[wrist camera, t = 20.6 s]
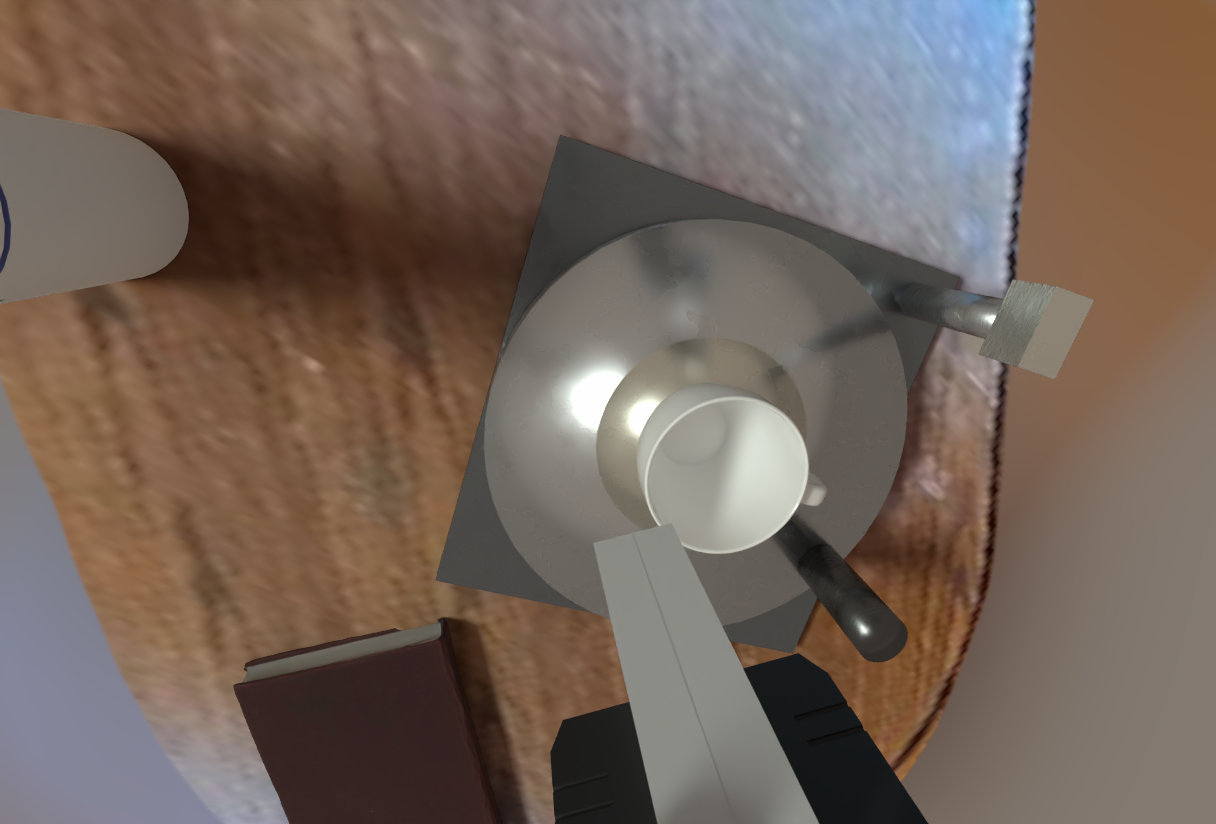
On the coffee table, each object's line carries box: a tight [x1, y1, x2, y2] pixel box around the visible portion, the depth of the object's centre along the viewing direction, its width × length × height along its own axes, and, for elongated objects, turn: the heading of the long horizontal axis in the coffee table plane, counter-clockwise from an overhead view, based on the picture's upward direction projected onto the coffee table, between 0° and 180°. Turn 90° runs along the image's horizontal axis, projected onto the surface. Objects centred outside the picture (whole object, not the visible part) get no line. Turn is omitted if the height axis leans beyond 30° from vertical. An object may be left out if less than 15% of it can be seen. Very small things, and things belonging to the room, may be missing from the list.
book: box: [233, 618, 501, 824], centre depth 43 cm, size 12×19×3 cm, turn 9°
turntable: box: [484, 219, 908, 662], centre depth 35 cm, size 24×24×10 cm
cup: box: [636, 383, 827, 554], centre depth 34 cm, size 8×10×7 cm
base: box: [436, 135, 1094, 654], centre depth 35 cm, size 26×24×12 cm
